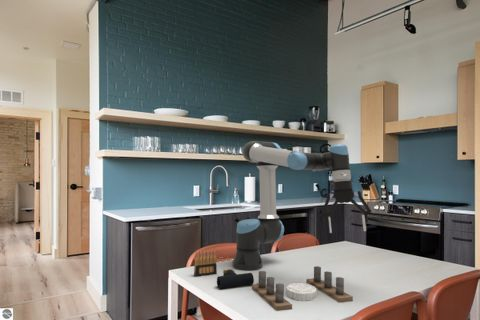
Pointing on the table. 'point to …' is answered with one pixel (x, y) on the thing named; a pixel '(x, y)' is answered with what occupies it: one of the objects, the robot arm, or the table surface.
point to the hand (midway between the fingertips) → (347, 231)
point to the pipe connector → (234, 279)
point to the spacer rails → (281, 303)
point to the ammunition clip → (205, 264)
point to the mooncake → (301, 291)
